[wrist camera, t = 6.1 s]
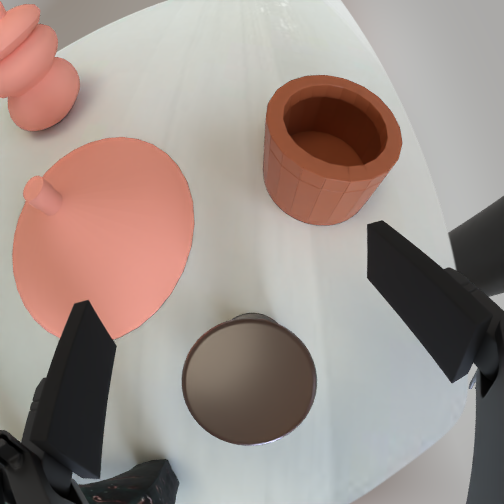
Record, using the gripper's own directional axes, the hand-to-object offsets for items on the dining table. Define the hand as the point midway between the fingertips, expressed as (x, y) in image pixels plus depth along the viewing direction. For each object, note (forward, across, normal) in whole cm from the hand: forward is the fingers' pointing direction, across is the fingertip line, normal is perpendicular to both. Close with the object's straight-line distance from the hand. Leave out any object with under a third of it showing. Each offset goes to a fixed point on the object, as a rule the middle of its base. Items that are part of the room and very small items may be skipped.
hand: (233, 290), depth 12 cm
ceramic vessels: (+21, -14, +4) cm, 26 cm away
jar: (+16, +10, -2) cm, 19 cm away
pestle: (+7, 0, -11) cm, 13 cm away
